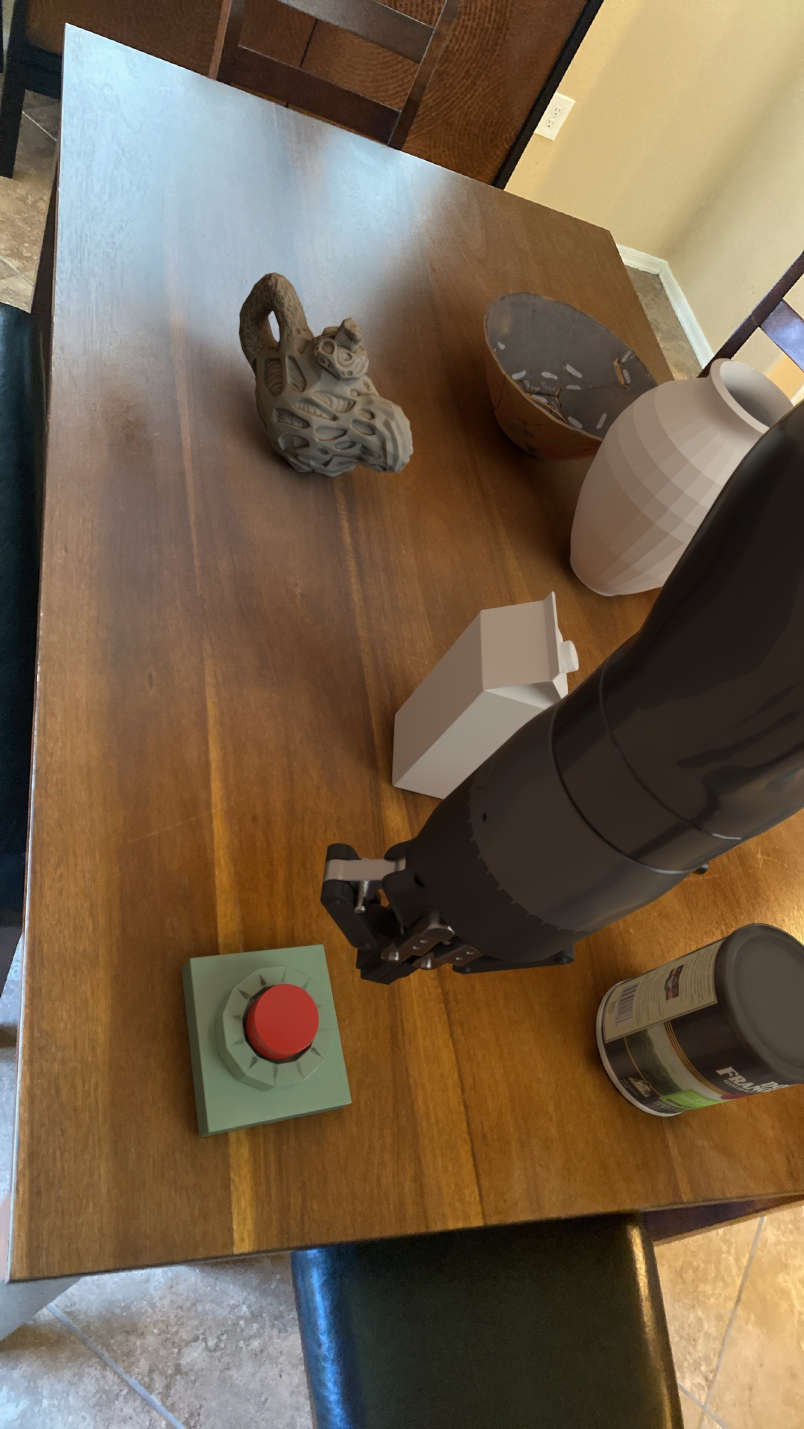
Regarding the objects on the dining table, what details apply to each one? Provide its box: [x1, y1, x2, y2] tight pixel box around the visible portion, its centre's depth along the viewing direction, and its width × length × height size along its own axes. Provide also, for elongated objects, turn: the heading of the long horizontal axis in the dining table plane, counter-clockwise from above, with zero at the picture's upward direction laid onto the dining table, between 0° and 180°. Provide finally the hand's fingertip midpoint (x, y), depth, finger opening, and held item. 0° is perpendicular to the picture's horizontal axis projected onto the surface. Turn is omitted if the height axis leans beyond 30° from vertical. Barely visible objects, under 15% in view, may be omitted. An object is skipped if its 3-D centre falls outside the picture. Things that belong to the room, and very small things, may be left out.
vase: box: [569, 358, 795, 597], centre depth 88 cm, size 18×18×25 cm
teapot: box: [238, 272, 414, 478], centre depth 80 cm, size 21×12×15 cm, turn 53°
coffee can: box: [595, 922, 804, 1117], centre depth 62 cm, size 10×10×14 cm
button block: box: [181, 943, 353, 1138], centre depth 54 cm, size 10×9×4 cm
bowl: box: [481, 291, 659, 463], centre depth 103 cm, size 25×25×10 cm
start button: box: [246, 984, 319, 1060], centre depth 52 cm, size 4×4×2 cm
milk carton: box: [391, 591, 580, 800], centre depth 66 cm, size 7×7×19 cm
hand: (375, 963), depth 45 cm, fingers closed
